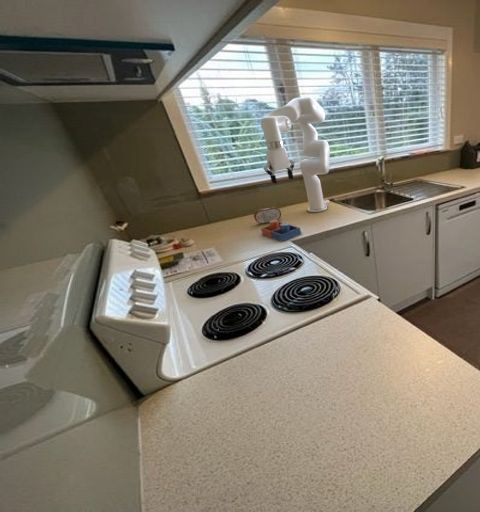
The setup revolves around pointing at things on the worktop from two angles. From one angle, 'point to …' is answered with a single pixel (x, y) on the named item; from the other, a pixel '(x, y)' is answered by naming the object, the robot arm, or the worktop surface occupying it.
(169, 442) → the worktop surface
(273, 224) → the reddish round cylinder
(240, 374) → the worktop surface
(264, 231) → the terracotta bin
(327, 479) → the worktop surface
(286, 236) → the blue bin
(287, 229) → the small blue cylinder
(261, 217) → the tin
